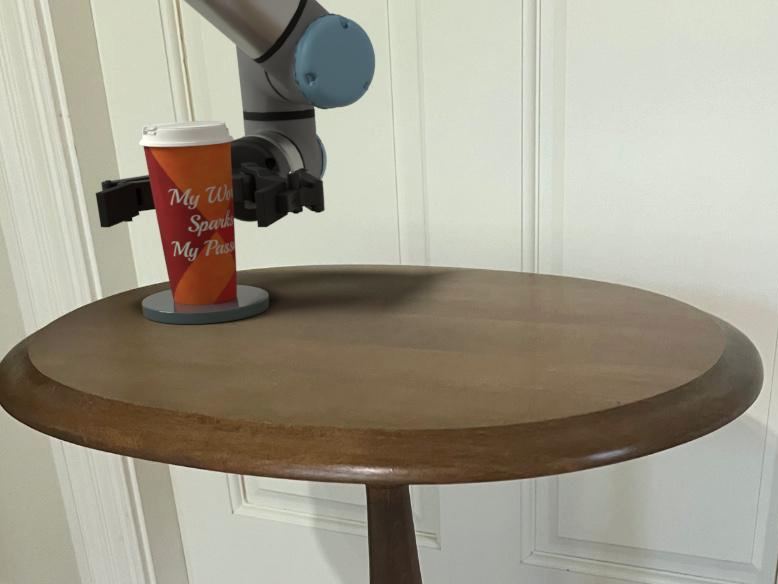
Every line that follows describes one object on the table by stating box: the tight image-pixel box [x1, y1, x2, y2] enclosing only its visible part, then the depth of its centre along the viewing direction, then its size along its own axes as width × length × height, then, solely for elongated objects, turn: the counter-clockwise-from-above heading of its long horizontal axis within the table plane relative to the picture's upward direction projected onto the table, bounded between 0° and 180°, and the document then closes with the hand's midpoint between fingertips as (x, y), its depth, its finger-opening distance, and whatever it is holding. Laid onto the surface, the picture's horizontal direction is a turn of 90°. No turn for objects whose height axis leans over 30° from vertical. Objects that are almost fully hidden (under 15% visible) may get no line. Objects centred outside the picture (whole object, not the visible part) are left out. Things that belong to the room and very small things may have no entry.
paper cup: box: [138, 120, 238, 305], centre depth 92 cm, size 8×8×14 cm
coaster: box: [141, 284, 270, 325], centre depth 95 cm, size 11×11×1 cm
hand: (180, 210), depth 89 cm, fingers open, 13 cm apart
